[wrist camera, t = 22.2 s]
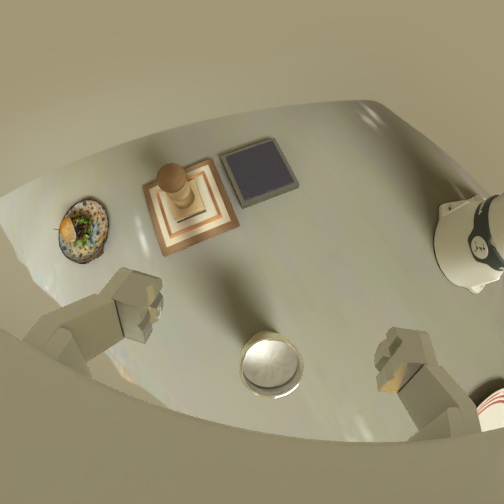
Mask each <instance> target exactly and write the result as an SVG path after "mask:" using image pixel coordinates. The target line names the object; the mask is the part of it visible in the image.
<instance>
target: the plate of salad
mask: <svg viewBox="0 0 504 504" xmlns="http://www.w3.org/2000/svg"><path fill="white" fill-rule="evenodd" d="M108 228H109V223H108V217H107V214H106V211H105V208H104V207H103V206H102V205H100V204H99V203H98V202H97V201H95V200H92V199H83V200H82V201H80V202H79V203H76V204H75V205H73V206H72V207H71V208H70V209H69V210H68V211H67V213H66V214H65V216H64V218H63V220H62V222H61V224H60V228H59V229H55V230H59V245H60V248H61V250H62V253H63V254H64V255H65V256H66V257H67V258H68V259H70V260H72V261H74V262H76V263H79V264H87V262H88V263H89V262H91V260H94V259H95V258H98V257H99V256H101V255H102V254H103V249H102V248H103V246H104V244H105V243H106V240H107V237H108Z"/></svg>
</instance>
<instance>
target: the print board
mask: <svg viewBox="0 0 504 504" xmlns="http://www.w3.org/2000/svg"><path fill="white" fill-rule="evenodd" d="M184 171H185V173H186V179H187V181H188V182H189V181H191V180H194V181H195V183H196V185H197V187H198V190H199V193H200V195H201V198H202V201H203V203H204V206H205V209H206V211H207V212H204V213H202V214H199V215H197V216H194V217H192V218H189V219H187V220H185V221H182V222H180V223H177V222H176V221H175V220H174V218H173V215H172V212H171V209H170V206H169V202H168V199H167V196H166V193H165V192H164V191H163V190H161V189H160V187H159V186H158V183H157V181H155V182H153V183H151V184H149V185H146V186H144V187H143V190H144V194H145V197H146V201H147V204H148V208H149V211H150V215H151V218H152V222H153V225H154V228H155V232H156V235H157V238H158V241H159V244H160V247H161V251H162V254H163V256H168V255H170V254H172V253H175V252H177V251H179V250H182V249H184V248H187V247H189V246H192V245H194V244H196V243H199V242H201V241H204V240H206V239H209V238H211V237H214V236H216V235H218V234H221V233H223V232H226V231H228V230H231V229H233V228H236V227H238V226H240V225H239V222H238V220H237V217H236V215H235V213H234V210H233V208H232V205H231V203H230V201H229V198H228V196H227V193H226V191H225V189H224V186H223V184H222V182H221V179H220V177H219V174H218V172H217V170H216V167H215V165H214V162H213V160H212V158H211V159H208V160H206V161H203V162H201V163H198V164H196V165H193V166H191V167H188V168H186V169H184Z"/></svg>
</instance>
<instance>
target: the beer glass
mask: <svg viewBox="0 0 504 504" xmlns="http://www.w3.org/2000/svg"><path fill="white" fill-rule="evenodd" d="M303 371H304V364H303V359H302V356H301V354H300V352H299V351H298V349H297V347H296V346H295V344H294V343H293V342H292V341H291V340H290V339H288V338H287V337H285V336H283V335H281V334H278V333H275V332H272V331H261V332H258V333H256V334H255V335H254V336H252V337H251V339H250V340H249V341H248V342H247V343H246V345H245V346H244V348H243V349H242V351H241V354H240V359H239V373H240V378H241V380H242V382H243V384H244V386H245V387H246V388H247V389H248V390H249V391H250V392H251V393H253V394H255V395H256V396H259V397H262V398H267V399H274V398H280V397H283V396H285V395H287V394H289V393H290V392H292V391H293V390H294V389H295V388H296V387H297V386H298V384H299V383H300V381H301V379H302V376H303Z"/></svg>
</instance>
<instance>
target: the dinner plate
mask: <svg viewBox="0 0 504 504" xmlns="http://www.w3.org/2000/svg"><path fill="white" fill-rule="evenodd" d="M476 409H477V413H478V417H479V421H480V426H481V431H482V432H484V431H489V430H494V429H498V428H502V427H504V388H502V389H500V390H497V391H496V392H494V393H493V394H491V395H490V396H488V397H487V398H486V399H485V400H484V401H483V402H482V403H481V404H480V405H479V406H478V407H477V408H476Z"/></svg>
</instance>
